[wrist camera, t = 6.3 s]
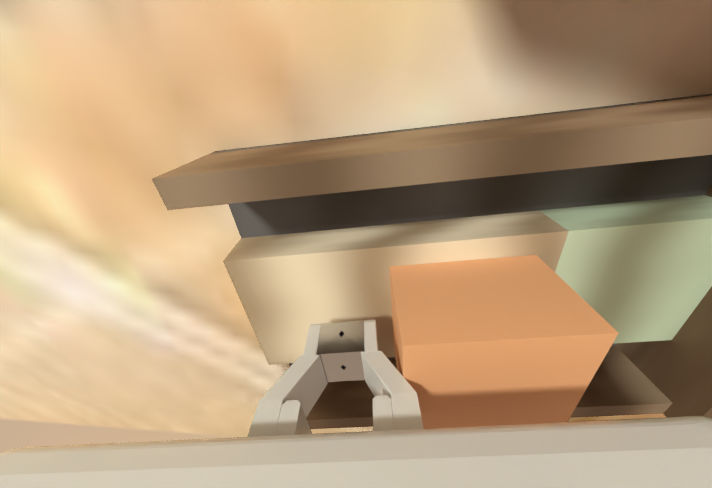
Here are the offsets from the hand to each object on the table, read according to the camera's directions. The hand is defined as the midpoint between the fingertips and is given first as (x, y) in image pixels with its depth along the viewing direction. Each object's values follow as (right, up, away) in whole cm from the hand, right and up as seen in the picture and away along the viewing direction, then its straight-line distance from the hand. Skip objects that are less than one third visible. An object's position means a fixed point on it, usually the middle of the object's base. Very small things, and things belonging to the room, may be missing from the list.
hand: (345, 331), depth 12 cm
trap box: (+6, +2, +3) cm, 7 cm away
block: (+5, +1, +1) cm, 5 cm away
